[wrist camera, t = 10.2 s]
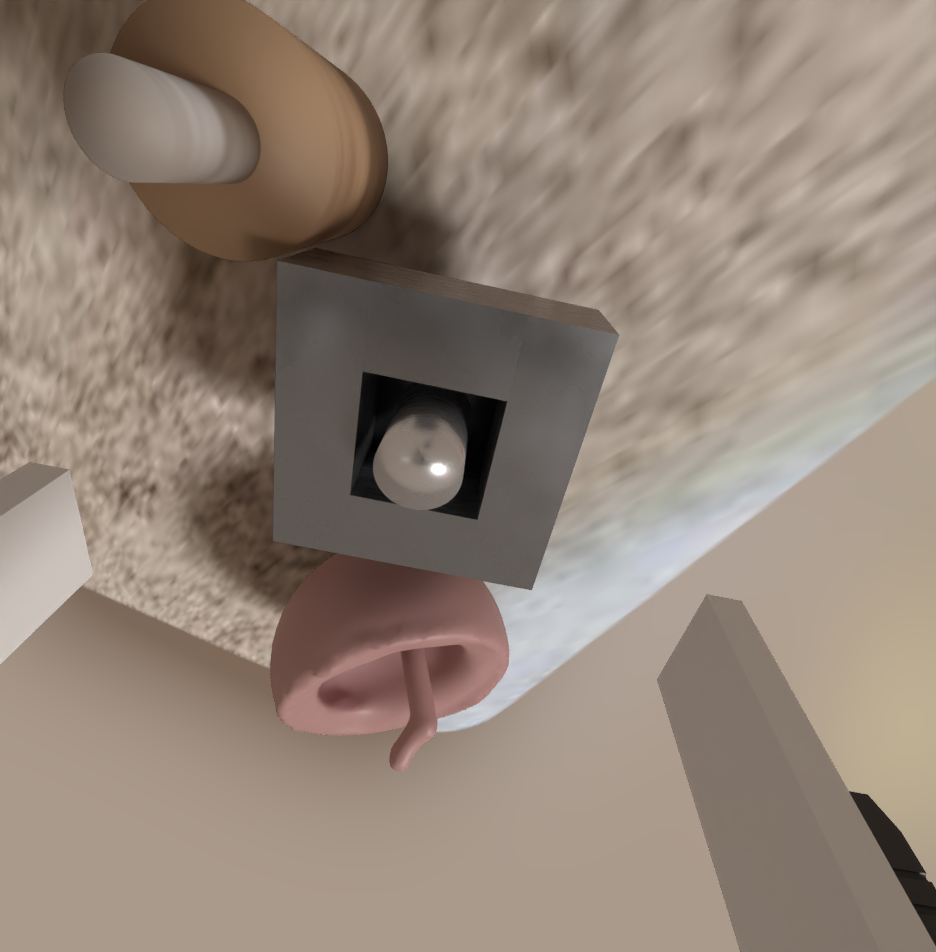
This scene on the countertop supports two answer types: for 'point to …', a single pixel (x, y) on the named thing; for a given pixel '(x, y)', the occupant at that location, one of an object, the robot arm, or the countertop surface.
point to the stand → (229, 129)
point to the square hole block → (437, 364)
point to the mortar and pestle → (384, 651)
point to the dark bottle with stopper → (427, 441)
